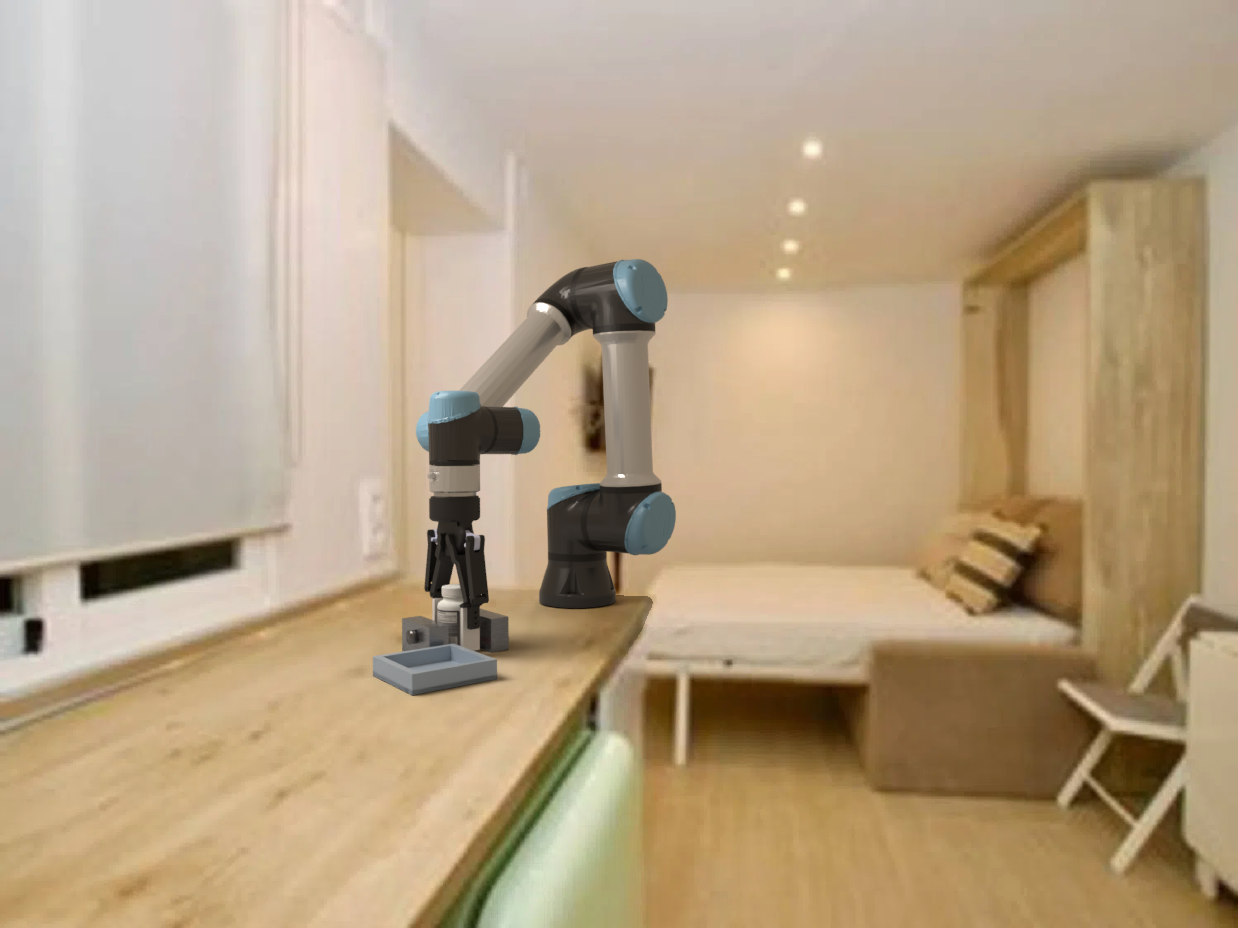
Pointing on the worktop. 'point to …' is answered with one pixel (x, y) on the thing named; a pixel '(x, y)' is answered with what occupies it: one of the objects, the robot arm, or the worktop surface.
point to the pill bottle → (451, 611)
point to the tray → (434, 668)
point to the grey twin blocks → (435, 633)
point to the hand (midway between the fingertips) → (455, 644)
